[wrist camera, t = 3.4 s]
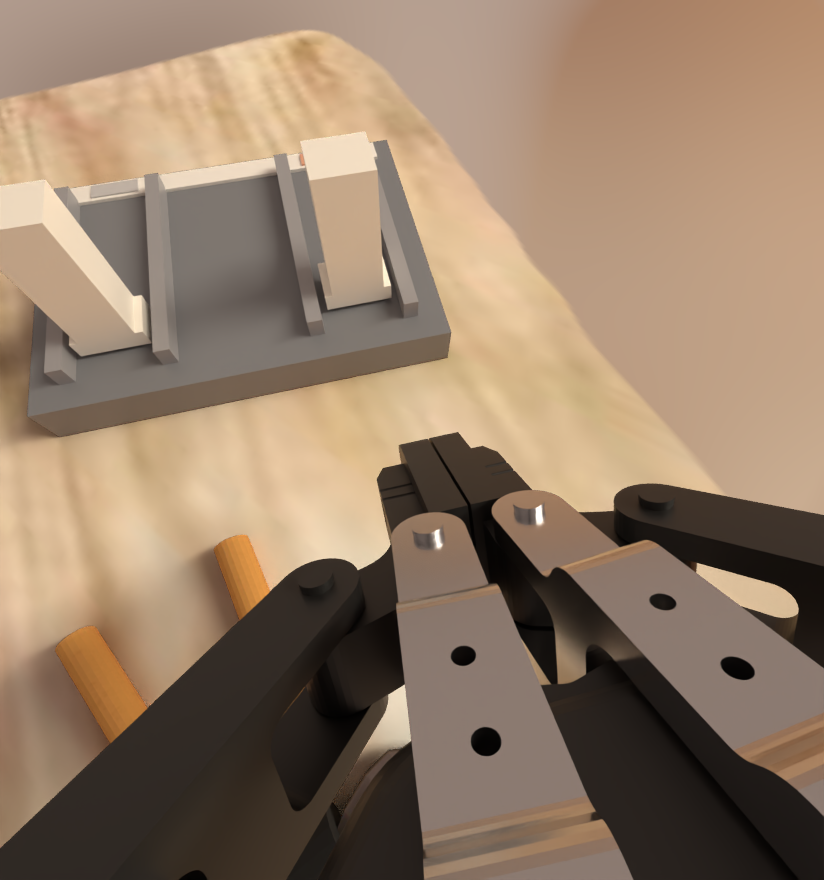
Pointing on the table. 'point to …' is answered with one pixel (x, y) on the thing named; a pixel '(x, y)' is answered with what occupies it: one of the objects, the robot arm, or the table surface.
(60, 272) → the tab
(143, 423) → the table surface
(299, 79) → the table surface
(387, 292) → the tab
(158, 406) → the switch box
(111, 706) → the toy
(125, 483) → the table surface
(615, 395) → the table surface
